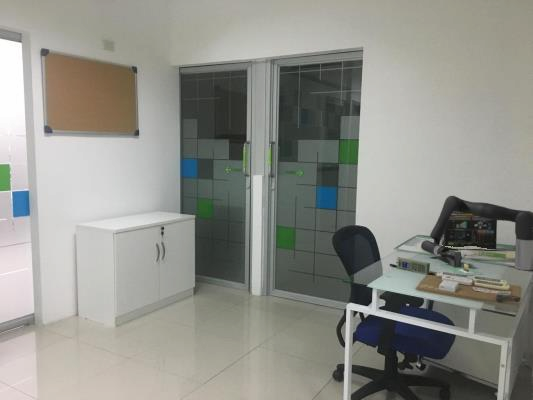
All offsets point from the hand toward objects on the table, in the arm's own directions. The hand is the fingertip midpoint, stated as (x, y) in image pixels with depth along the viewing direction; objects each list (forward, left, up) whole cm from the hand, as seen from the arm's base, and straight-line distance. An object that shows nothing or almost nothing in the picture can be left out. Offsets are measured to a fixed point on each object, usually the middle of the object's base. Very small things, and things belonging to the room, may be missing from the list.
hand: (457, 258), depth 261 cm
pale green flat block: (+1, +3, -7) cm, 7 cm away
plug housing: (-1, -3, -5) cm, 6 cm away
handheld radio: (+26, -12, -7) cm, 29 cm away
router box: (-60, -37, -7) cm, 71 cm away
